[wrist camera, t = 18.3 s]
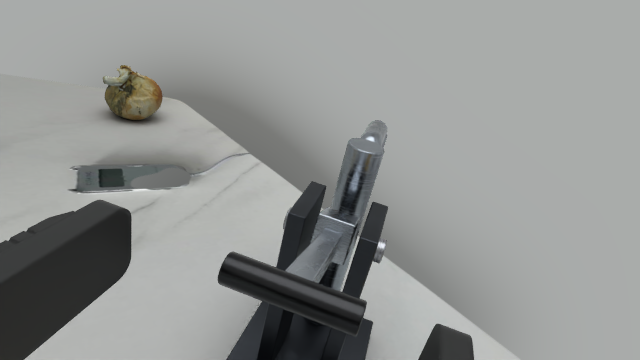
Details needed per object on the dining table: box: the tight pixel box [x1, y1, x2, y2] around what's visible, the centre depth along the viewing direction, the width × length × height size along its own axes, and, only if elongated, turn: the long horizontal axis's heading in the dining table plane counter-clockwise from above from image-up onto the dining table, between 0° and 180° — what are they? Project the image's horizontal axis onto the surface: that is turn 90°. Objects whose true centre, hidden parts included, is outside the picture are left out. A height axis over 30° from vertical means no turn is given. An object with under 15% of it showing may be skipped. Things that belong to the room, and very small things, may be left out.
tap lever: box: [218, 207, 367, 337], centre depth 19 cm, size 12×5×2 cm, turn 164°
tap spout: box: [305, 120, 387, 325], centre depth 31 cm, size 8×2×15 cm, turn 164°
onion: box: [103, 65, 162, 120], centre depth 60 cm, size 8×8×8 cm
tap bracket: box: [227, 181, 388, 360], centre depth 26 cm, size 12×9×14 cm
